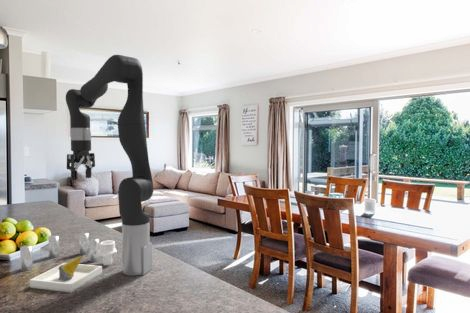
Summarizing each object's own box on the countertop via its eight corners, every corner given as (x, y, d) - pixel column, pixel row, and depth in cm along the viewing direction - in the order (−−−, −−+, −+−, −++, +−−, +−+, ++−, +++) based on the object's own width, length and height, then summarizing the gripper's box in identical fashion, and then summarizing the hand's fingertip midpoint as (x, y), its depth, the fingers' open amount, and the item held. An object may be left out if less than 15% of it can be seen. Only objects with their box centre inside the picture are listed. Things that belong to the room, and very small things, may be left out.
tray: (102, 273, 114) (102, 266, 114) (71, 292, 100) (71, 284, 99) (64, 269, 117) (64, 262, 117) (29, 287, 103) (29, 279, 103)
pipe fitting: (94, 264, 122) (93, 243, 122) (111, 259, 128) (111, 238, 128) (103, 268, 118) (103, 246, 118) (121, 262, 124) (120, 241, 124)
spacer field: (110, 253, 134) (110, 234, 134) (71, 275, 112) (71, 252, 111) (64, 249, 139) (64, 231, 138) (18, 270, 116) (17, 248, 116)
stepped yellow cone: (60, 276, 111) (84, 253, 114) (66, 287, 108) (90, 263, 111) (49, 271, 107) (73, 248, 109) (55, 282, 104) (80, 258, 106)
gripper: (77, 139, 127) (77, 181, 128) (99, 139, 141) (100, 177, 142) (60, 139, 129) (61, 180, 129) (84, 139, 142) (85, 176, 143)
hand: (81, 178), depth 135 cm, fingers open, 8 cm apart
